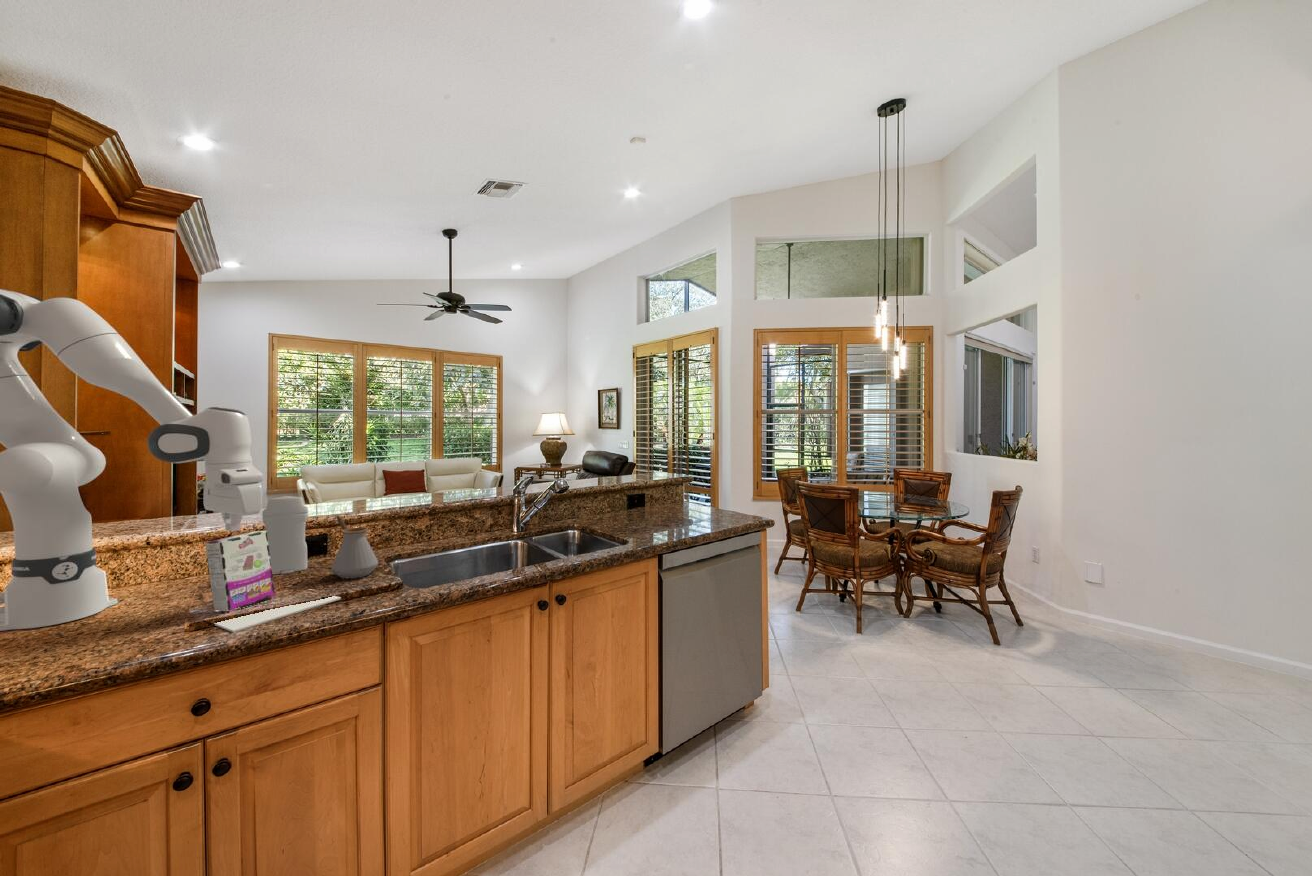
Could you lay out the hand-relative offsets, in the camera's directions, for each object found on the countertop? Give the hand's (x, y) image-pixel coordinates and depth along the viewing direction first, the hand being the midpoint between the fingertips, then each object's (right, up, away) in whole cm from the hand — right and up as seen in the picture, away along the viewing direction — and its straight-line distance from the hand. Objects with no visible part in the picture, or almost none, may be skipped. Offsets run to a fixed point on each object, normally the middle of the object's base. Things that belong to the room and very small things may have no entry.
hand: (232, 530), depth 123 cm
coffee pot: (+14, -16, +24) cm, 32 cm away
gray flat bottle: (-4, -16, +23) cm, 28 cm away
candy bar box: (+6, -17, -3) cm, 18 cm away
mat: (+15, -17, -6) cm, 24 cm away
